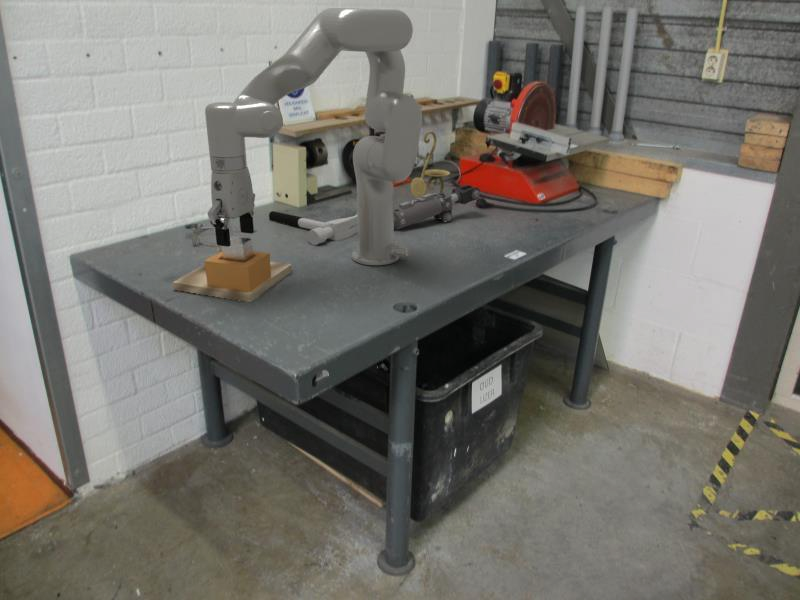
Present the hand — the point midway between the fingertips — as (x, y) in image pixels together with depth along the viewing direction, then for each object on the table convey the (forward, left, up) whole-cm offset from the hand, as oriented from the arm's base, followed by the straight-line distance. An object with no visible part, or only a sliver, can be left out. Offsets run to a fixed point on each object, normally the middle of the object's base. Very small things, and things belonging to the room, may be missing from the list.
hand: (235, 238), depth 142 cm
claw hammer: (+6, -49, -13) cm, 51 cm away
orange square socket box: (+4, -4, -12) cm, 14 cm away
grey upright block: (0, 0, -10) cm, 10 cm away
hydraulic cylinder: (-26, -67, -13) cm, 73 cm away
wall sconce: (-21, -88, -12) cm, 91 cm away
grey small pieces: (+24, -31, -13) cm, 41 cm away
